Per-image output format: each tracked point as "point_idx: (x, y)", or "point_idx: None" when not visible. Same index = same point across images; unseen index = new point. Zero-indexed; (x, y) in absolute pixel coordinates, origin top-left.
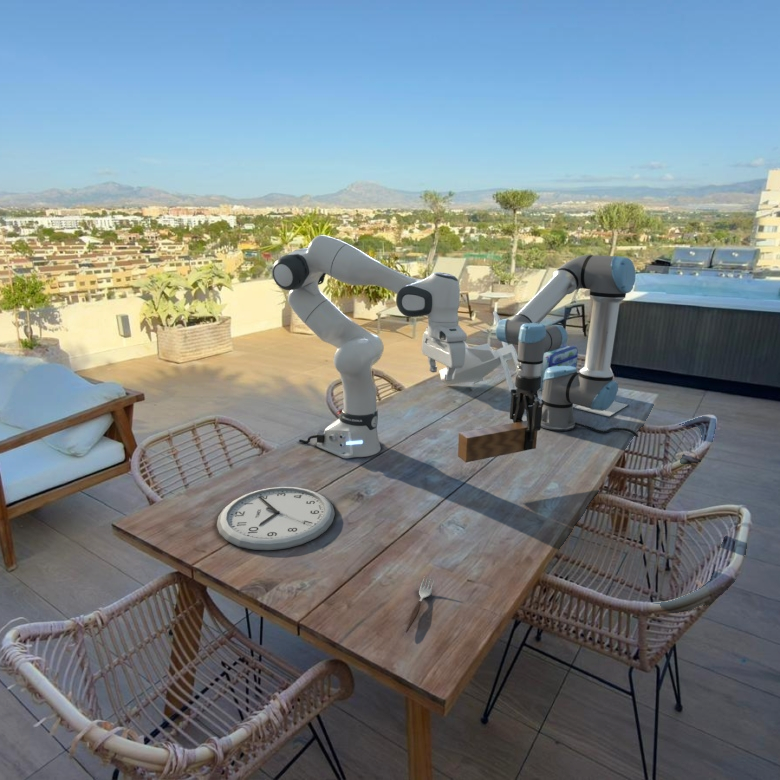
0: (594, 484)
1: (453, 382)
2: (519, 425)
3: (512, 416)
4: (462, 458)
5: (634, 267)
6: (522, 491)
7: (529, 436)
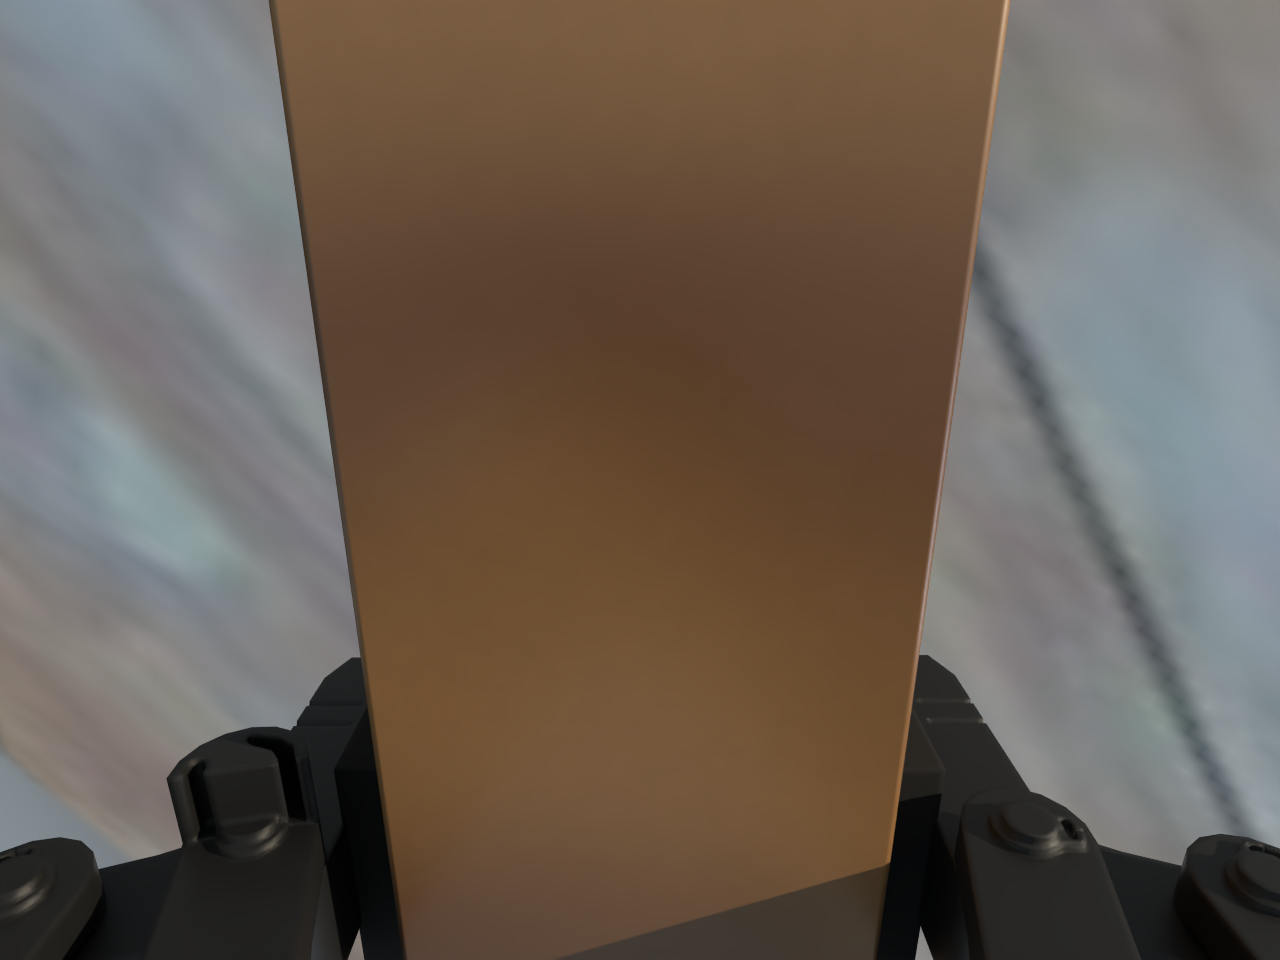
0: (118, 846)
1: None
2: (618, 773)
3: (1239, 956)
4: None
5: None
6: (70, 86)
7: (342, 721)
